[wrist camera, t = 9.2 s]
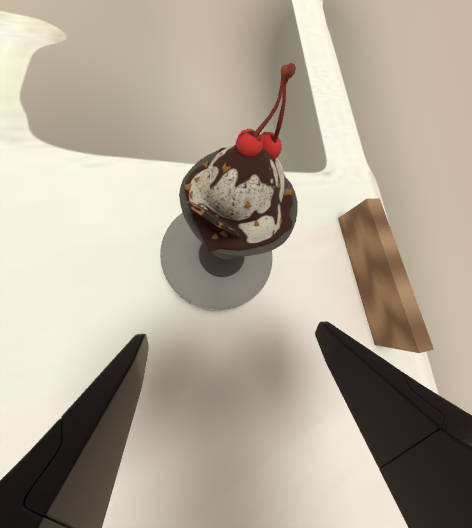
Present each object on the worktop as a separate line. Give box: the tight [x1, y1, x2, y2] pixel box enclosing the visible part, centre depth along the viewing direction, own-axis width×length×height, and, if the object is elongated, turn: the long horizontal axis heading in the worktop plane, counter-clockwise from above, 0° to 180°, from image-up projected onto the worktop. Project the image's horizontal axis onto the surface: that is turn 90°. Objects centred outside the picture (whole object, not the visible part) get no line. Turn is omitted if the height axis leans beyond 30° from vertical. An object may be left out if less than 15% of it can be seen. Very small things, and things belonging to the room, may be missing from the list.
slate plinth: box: [161, 213, 272, 310], centre depth 21 cm, size 12×12×3 cm
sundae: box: [179, 63, 297, 277], centre depth 13 cm, size 7×7×15 cm
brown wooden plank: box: [338, 199, 433, 353], centre depth 23 cm, size 18×2×5 cm, turn 8°
